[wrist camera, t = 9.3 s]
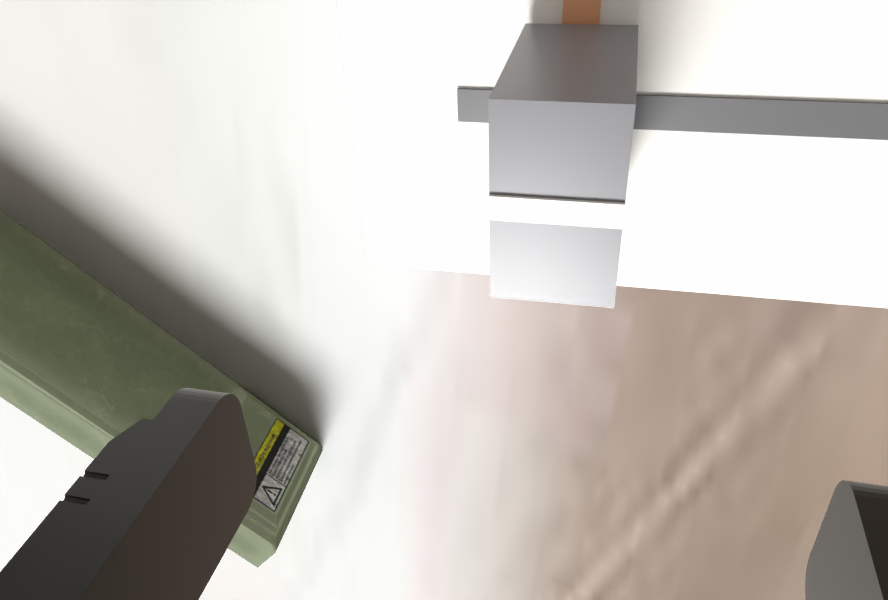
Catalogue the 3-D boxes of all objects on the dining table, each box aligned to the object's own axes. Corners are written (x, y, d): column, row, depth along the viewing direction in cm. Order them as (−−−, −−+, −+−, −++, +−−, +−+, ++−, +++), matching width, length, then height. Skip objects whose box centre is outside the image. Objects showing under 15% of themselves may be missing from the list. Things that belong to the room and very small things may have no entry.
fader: (638, 25, 20) (635, 106, 15) (620, 195, 23) (613, 310, 18) (525, 23, 20) (487, 100, 16) (522, 189, 23) (489, 299, 18)
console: (1672, -167, 16) (1857, -156, 14) (1327, 292, 23) (1409, 354, 21) (357, -132, 22) (321, -120, 20) (390, 224, 29) (366, 265, 27)
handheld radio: (299, 468, 39) (-146, 150, 33) (334, 438, 38) (-128, 98, 32) (247, 575, 34) (-296, 217, 28) (285, 546, 32) (-284, 158, 26)
